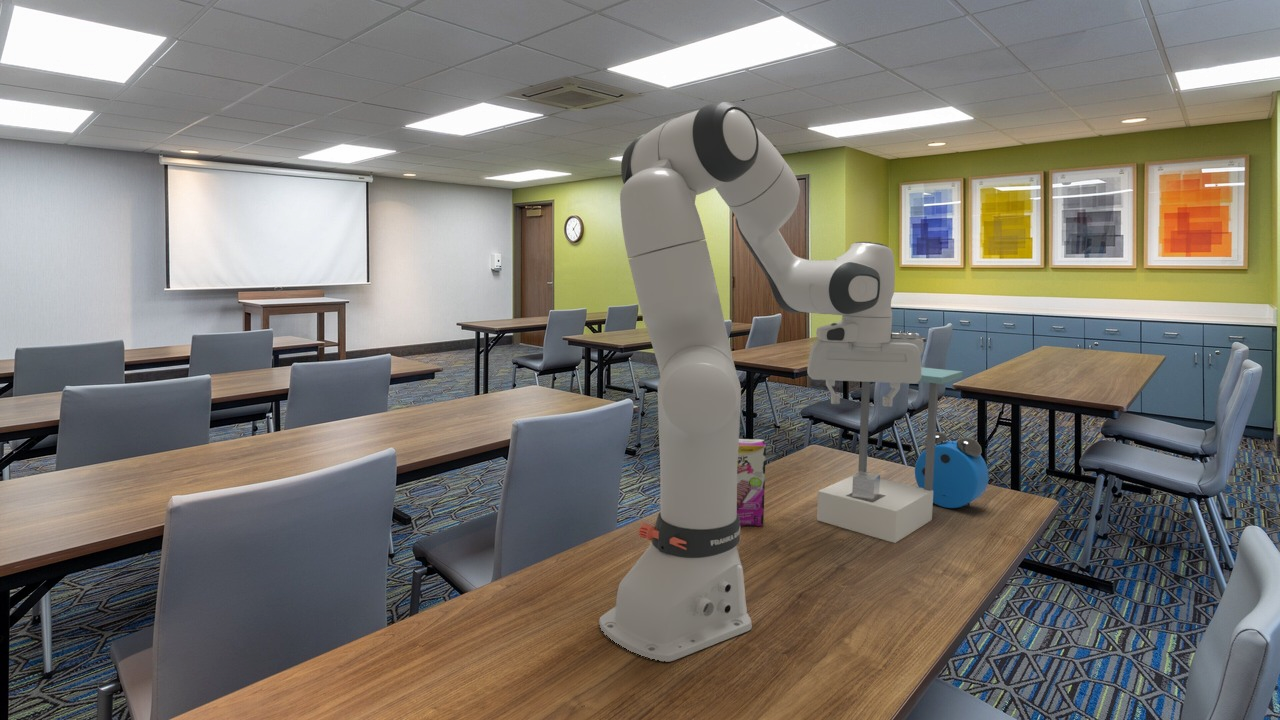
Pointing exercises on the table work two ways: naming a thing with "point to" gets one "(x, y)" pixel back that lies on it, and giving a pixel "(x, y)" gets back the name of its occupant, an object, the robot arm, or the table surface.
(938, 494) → the alarm clock
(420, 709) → the table surface
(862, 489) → the steel peg
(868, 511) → the socket block
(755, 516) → the candy bar box
